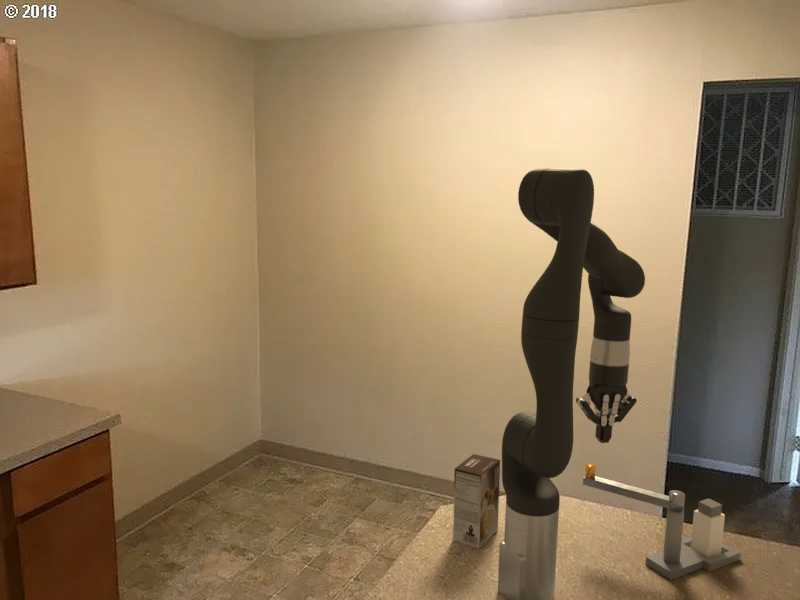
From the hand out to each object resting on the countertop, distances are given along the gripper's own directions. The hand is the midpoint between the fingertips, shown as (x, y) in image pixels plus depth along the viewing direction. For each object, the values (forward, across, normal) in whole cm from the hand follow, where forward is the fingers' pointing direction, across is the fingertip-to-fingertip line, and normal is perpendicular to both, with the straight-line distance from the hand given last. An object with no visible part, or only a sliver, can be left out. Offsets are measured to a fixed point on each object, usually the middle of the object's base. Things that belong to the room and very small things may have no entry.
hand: (603, 441), depth 139 cm
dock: (+21, +13, -13) cm, 28 cm away
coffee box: (+21, -25, +5) cm, 33 cm away
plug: (+21, +18, -12) cm, 30 cm away
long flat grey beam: (+9, +3, -8) cm, 12 cm away
